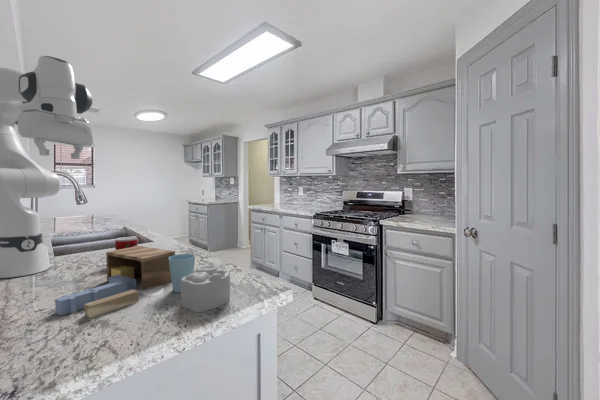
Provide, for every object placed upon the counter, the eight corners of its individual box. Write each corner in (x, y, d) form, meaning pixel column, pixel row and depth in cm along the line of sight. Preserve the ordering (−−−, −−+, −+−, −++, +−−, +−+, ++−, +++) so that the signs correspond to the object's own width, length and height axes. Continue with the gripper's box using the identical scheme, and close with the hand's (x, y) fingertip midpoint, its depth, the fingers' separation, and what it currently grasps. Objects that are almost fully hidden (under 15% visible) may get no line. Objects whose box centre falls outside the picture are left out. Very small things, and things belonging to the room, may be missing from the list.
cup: (175, 285, 93) (174, 253, 93) (199, 285, 93) (198, 253, 93) (164, 294, 86) (163, 259, 85) (190, 294, 86) (189, 259, 85)
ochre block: (111, 281, 98) (110, 268, 98) (124, 277, 102) (124, 265, 102) (120, 284, 95) (120, 270, 95) (134, 280, 99) (133, 267, 99)
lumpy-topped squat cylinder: (176, 304, 78) (176, 273, 78) (216, 290, 89) (216, 262, 88) (198, 314, 72) (198, 280, 72) (238, 298, 82) (238, 268, 82)
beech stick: (84, 316, 71) (84, 304, 71) (133, 300, 82) (132, 289, 82) (90, 319, 70) (89, 306, 70) (138, 302, 80) (138, 291, 80)
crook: (43, 307, 76) (42, 294, 76) (118, 285, 93) (117, 274, 93) (63, 316, 71) (62, 301, 71) (138, 291, 88) (138, 279, 88)
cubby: (107, 280, 98) (106, 251, 98) (139, 272, 108) (138, 245, 108) (144, 290, 89) (143, 258, 88) (175, 279, 99) (175, 251, 99)
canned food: (128, 267, 115) (127, 240, 114) (111, 266, 116) (110, 239, 116) (142, 262, 122) (141, 237, 122) (126, 261, 124) (125, 236, 123)
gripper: (81, 120, 98) (83, 161, 99) (11, 103, 78) (14, 153, 79) (97, 119, 97) (99, 160, 98) (30, 101, 77) (33, 152, 78)
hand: (60, 157), depth 88 cm, fingers open, 8 cm apart
